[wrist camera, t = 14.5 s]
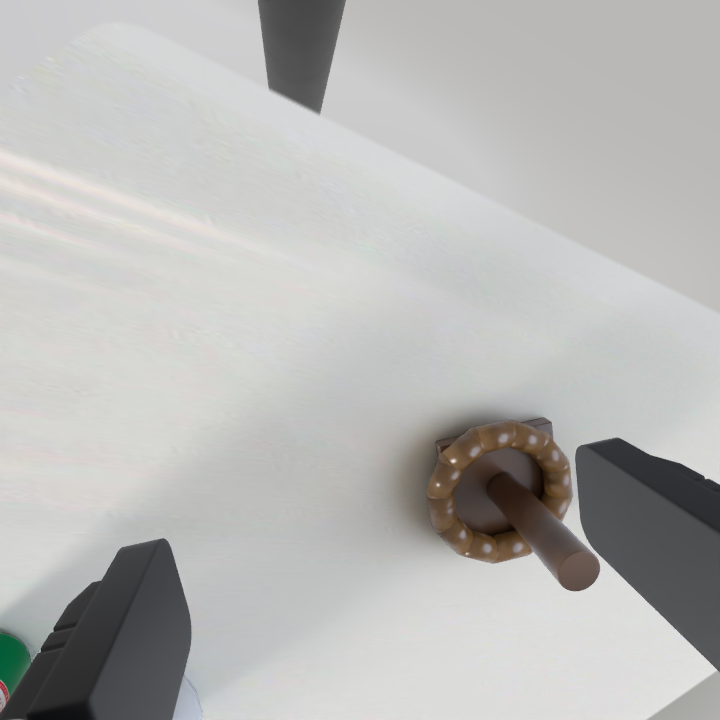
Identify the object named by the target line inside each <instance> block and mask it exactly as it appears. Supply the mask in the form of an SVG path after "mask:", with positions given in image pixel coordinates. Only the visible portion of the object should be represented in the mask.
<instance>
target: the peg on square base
mask: <svg viewBox="0 0 720 720" xmlns="http://www.w3.org/2000/svg"><path fill="white" fill-rule="evenodd" d="M522 424H525V425H528V426H532V427H535V428H538V429H541V430H543V431H545V432H547V433H548V435H549V436H550V437H551V438H552V439H553V431H552V422H550V421H549V420H547V419H546V418H541V419H536V420H531V421H527V422H522ZM459 437H460V436H458V437H453V438H449V439H444V440H439V441H436V448H437V454H438V458H439V456H440V454H441V453H442V452H443V451H444V450H445V449H446V448H448V447H449V446H450V445H451V444H452V443H453V442H455V441H456V440H457V439H458V438H459ZM544 491H545V489H544V480H543V472H542V468H541V467H540V466H539V465H538V463H537V462H536V461H535V460H534V459H533V457H532V456H531V455H530V454H528V453H525V452H522V451H519V450H515V449H512V448H509V447H508V448H504V449H500V450H496V451H491V452H487V453H484V454H482V455H481V456H480V457H479V458H478V459H477V460H475V461H474V462H473V463H472V464H471V465H470V466H468V467H467V468H466V469H465V470H464V471H463V473H462V475H461V478H460V480H459V483H458V485H457V488H456V490H455V493H454V499H455V505H456V511H457V516H458V517H459V518H460V519H461V520H462V521H463V523H464V524H465V525H466V526H467V527H468V528H469V529H470V530H472V531H475V532H479V533H483V534H487V535H490V536H493V535H497V534H501V533H505V532H509V531H513V530H516V531H517V532H518V533H519V534H520V535H521V537H522V538H523V539H524V540H525V542H526V543H527V544H528V545H529V546H530V548H531V549H532V550H533V551H534V553H535V554H536V555H537V556H538V557H539V559H540V560H541V561H542V562H543V564H544V565H545V566H546V567H547V568H548V570H549V571H550V572H551V573H552V575H553V576H554V577H555V578H556V579H557V581H558V582H559V583H560V584H561V585H562V586H563V587H564V588H565V589H567V590H570V591H581V590H584V589H586V588H588V587H589V586H591V585H592V584H593V583H594V582H595V581H596V579H597V577H598V575H599V572H600V564H599V561H598V559H597V557H596V556H595V555H594V554H593V553H592V552H591V551H590V550H589V549H588V548H587V547H586V546H585V545H584V544H583V543H582V542H581V541H580V540H579V539H578V538H577V537H576V536H575V535H574V534H573V533H572V532H571V531H570V530H569V529H568V528H567V527H566V526H565V525H564V524H563V523H562V522H561V521H560V520H559V519H558V518H557V517H556V516H555V515H554V514H553V513H552V512H551V511H550V510H549V509H548V508H547V507H546V506H545V505H544V504H543V503H542V502H541V501H540V500H541V498H542V496H543V493H544Z"/></svg>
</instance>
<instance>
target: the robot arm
mask: <svg viewBox="0 0 720 720" xmlns="http://www.w3.org/2000/svg"><path fill="white" fill-rule="evenodd" d="M575 462H576V473H577V485H578V497H579V509H580V519H581V524H582V527H583V530H584V533H585V535H586V538H587V539H588V541H589V543H590V545H591V546H592V547H593V549H594V550H595V551H596V552H597V553H598V554H599V555H600V556H601V557H602V558H603V559H604V560H605V561H606V562H607V563H608V564H609V565H610V566H611V567H612V568H614V569H615V570H616V571H617V572H618V573H619V574H620V575H621V576H622V577H623V578H624V579H625V580H626V581H627V582H628V583H629V584H630V585H631V586H632V587H633V588H634V589H635V590H636V591H637V592H638V593H639V594H640V595H641V596H642V597H643V598H644V599H645V600H646V601H647V602H648V603H649V604H650V605H651V606H653V607H654V608H655V609H656V610H657V611H658V612H659V613H660V614H661V615H662V616H663V617H664V618H665V619H666V620H667V621H668V622H669V623H670V624H671V625H672V626H673V627H674V628H675V629H676V630H677V631H678V632H679V633H680V634H681V635H682V636H683V637H684V638H685V639H686V640H687V641H688V642H689V643H691V644H692V645H693V646H694V647H695V648H696V649H697V650H698V651H699V652H700V653H701V654H702V655H703V656H704V657H705V658H706V659H707V660H708V661H709V662H710V663H711V664H712V665H713V666H714V667H715V668H716V669H717V670H718V671H719V672H720V485H719V484H717V483H716V482H714V481H712V480H710V479H705V478H704V476H703V475H701V474H699V473H697V472H695V471H693V470H692V469H690V468H688V467H686V466H684V465H682V464H680V463H676V462H673V461H669V460H666V459H662V458H659V457H655V456H652V455H649V454H647V453H645V452H644V451H642V450H640V449H638V448H636V447H635V446H633V445H631V444H629V443H628V442H626V441H624V440H622V439H620V438H612V439H608V440H603V441H599V442H594V443H590V444H585V445H581V446H579V447H578V448H577V450H576V455H575ZM190 646H191V620H190V614H189V609H188V606H187V602H186V599H185V595H184V592H183V588H182V585H181V581H180V578H179V574H178V571H177V567H176V564H175V560H174V557H173V553H172V550H171V547H170V545H169V543H168V541H167V540H166V539H164V538H162V539H158V540H153V541H149V542H144V543H140V544H135V545H131V546H126V547H122V548H121V549H120V550H119V551H118V553H117V554H116V556H115V558H114V560H113V561H112V563H111V565H110V567H109V568H108V570H107V572H106V574H105V576H104V577H103V579H102V580H101V581H97V582H93V583H91V584H90V585H89V586H88V587H87V588H86V589H85V590H84V591H83V592H82V593H81V594H79V595H78V596H77V597H76V598H75V599H74V600H73V601H72V602H71V603H70V604H69V605H68V606H67V608H66V609H65V611H64V612H63V614H62V615H61V617H60V619H59V620H58V622H57V623H56V625H55V627H54V632H53V633H50V635H49V636H48V638H47V639H46V641H45V643H44V644H43V646H42V647H41V653H39V654H37V655H36V657H35V659H34V660H33V662H32V663H31V665H30V667H29V668H28V670H27V671H26V673H25V675H24V676H23V678H22V679H21V681H20V683H19V684H18V686H17V687H16V689H15V691H14V692H13V694H12V695H11V697H10V699H9V700H8V702H7V703H6V705H5V707H4V708H3V710H2V711H1V713H0V720H172V719H173V715H174V711H175V707H176V703H177V699H178V695H179V691H180V687H181V683H182V679H183V675H184V671H185V667H186V663H187V659H188V655H189V651H190Z"/></svg>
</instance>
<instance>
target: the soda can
mask: <svg viewBox="0 0 720 720" xmlns="http://www.w3.org/2000/svg"><path fill="white" fill-rule="evenodd" d="M30 665H31V659H30V655H29V652H28V650H27V648H26V647H25V645H24V644H23V643H22V642H21V641H20V640H19V639H18V638H16V637H14V636H12V635H9V634H6V633H0V713H1V711H2V710H3V708H4V707H5V705H6V703H7V702H8V700H9V699H10V697H11V695H12V694H13V692H14V691H15V689H16V687H17V686H18V684H19V683H20V681H21V679H22V678H23V676H24V675H25V673H26V671H27V670H28V668H29V667H30Z"/></svg>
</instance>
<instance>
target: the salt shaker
mask: <svg viewBox="0 0 720 720" xmlns="http://www.w3.org/2000/svg"><path fill="white" fill-rule="evenodd" d="M202 717H203V712H202V708H201V705H200V702H199V699H198V696H197V693H196V691H195V689H194V688H193V687H192V685H191V684H190V683H189V681H188V680H187V679H186V677H185V676H183V679H182V683H181V687H180V691H179V695H178V699H177V703H176V707H175V711H174V715H173V719H172V720H202Z"/></svg>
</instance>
